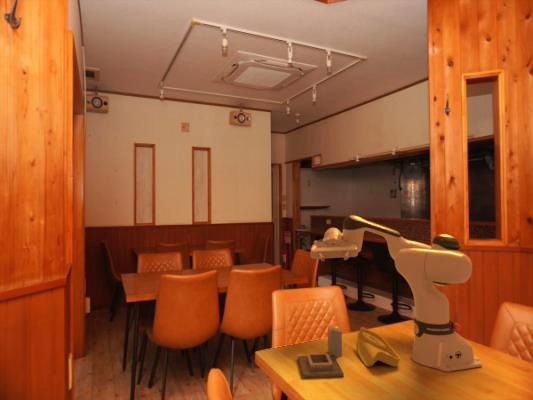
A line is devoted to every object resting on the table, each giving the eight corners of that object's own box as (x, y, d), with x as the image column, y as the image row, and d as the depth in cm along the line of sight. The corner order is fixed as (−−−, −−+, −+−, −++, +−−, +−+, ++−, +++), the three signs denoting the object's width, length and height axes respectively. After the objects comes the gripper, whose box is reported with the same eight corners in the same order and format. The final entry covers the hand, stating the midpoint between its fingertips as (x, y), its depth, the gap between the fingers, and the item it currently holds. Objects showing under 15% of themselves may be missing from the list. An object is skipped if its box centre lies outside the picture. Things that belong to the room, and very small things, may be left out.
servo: (338, 350, 138) (338, 323, 138) (342, 356, 133) (341, 328, 133) (328, 350, 138) (327, 323, 138) (331, 356, 133) (330, 328, 133)
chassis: (333, 358, 131) (333, 349, 131) (343, 376, 117) (343, 367, 117) (297, 359, 130) (297, 350, 130) (303, 378, 116) (303, 368, 116)
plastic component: (402, 361, 123) (376, 349, 122) (393, 380, 123) (367, 369, 122) (381, 335, 143) (358, 325, 142) (372, 352, 143) (350, 342, 142)
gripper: (357, 251, 165) (360, 264, 152) (312, 253, 169) (310, 266, 156) (356, 238, 164) (359, 250, 150) (310, 241, 167) (309, 253, 154)
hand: (334, 258), depth 153 cm, fingers open, 8 cm apart
